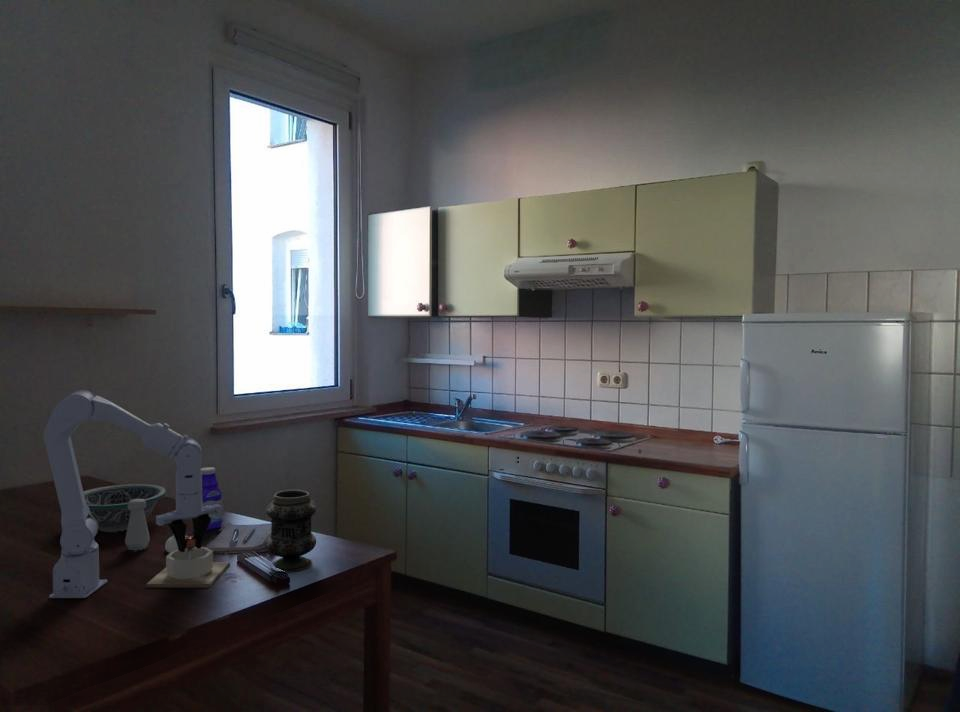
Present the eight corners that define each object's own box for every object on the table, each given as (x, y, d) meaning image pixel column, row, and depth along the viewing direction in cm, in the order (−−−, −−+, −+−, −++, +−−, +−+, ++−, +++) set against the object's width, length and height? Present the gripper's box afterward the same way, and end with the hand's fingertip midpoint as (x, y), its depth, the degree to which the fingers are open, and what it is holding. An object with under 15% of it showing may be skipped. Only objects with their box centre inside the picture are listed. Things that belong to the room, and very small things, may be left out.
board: (209, 587, 156) (209, 583, 156) (146, 587, 156) (146, 583, 156) (229, 565, 170) (229, 562, 170) (172, 565, 170) (172, 561, 170)
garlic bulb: (191, 547, 185) (191, 517, 185) (190, 552, 179) (190, 521, 179) (166, 549, 183) (166, 519, 183) (164, 555, 177) (164, 523, 177)
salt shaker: (139, 553, 178) (138, 503, 177) (120, 551, 179) (119, 502, 179) (154, 546, 184) (153, 497, 183) (135, 544, 185) (134, 496, 184)
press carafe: (202, 580, 159) (202, 560, 158) (161, 579, 158) (160, 560, 158) (217, 565, 168) (217, 547, 168) (178, 565, 168) (177, 547, 167)
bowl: (164, 535, 193) (163, 501, 193) (61, 545, 184) (60, 509, 183) (168, 511, 216) (168, 481, 216) (77, 519, 207) (76, 487, 207)
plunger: (198, 574, 160) (198, 542, 160) (170, 574, 160) (170, 542, 159) (208, 564, 166) (208, 533, 166) (181, 564, 166) (181, 533, 166)
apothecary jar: (326, 562, 173) (326, 491, 172) (290, 578, 163) (290, 502, 162) (291, 553, 179) (291, 485, 178) (255, 568, 169) (254, 495, 168)
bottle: (202, 533, 195) (201, 472, 194) (191, 529, 199) (190, 469, 198) (225, 527, 201) (225, 467, 200) (214, 523, 204) (214, 465, 204)
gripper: (211, 483, 170) (211, 538, 171) (150, 494, 160) (151, 552, 160) (224, 488, 165) (225, 544, 166) (162, 500, 155) (163, 559, 156)
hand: (189, 549), depth 163 cm, fingers closed on plunger, 3 cm apart
